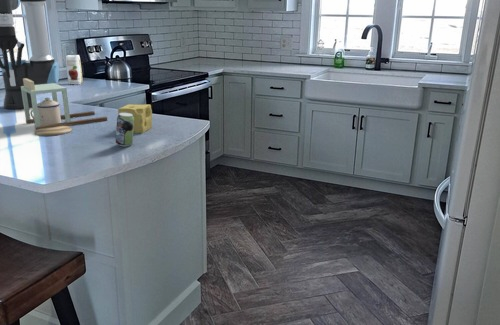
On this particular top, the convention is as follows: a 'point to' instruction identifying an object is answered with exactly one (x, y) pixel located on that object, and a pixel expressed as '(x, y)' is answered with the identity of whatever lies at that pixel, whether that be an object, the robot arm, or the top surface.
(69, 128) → the trivet
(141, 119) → the cheese
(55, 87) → the small green table
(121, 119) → the beverage can
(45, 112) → the teacup with lid
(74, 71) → the juice carton
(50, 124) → the rails
